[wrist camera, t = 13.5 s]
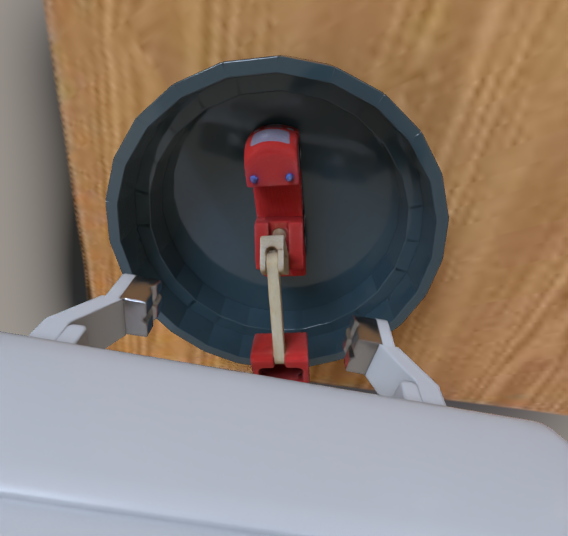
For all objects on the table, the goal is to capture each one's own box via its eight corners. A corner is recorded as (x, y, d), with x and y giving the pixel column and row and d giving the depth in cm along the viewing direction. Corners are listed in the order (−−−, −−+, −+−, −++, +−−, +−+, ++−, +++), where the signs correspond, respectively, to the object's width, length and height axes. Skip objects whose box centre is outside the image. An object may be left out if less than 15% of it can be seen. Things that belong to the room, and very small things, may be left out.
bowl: (136, 25, 20) (85, 17, 16) (470, 91, 21) (517, 102, 16) (148, 300, 31) (119, 344, 26) (371, 336, 32) (383, 386, 27)
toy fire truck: (300, 119, 22) (297, 158, 14) (309, 297, 29) (310, 395, 21) (247, 122, 22) (213, 164, 14) (268, 299, 29) (254, 395, 21)
